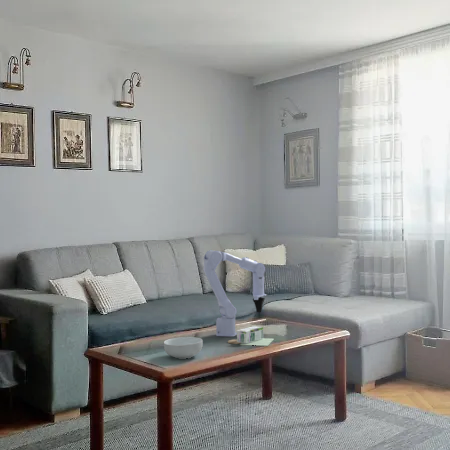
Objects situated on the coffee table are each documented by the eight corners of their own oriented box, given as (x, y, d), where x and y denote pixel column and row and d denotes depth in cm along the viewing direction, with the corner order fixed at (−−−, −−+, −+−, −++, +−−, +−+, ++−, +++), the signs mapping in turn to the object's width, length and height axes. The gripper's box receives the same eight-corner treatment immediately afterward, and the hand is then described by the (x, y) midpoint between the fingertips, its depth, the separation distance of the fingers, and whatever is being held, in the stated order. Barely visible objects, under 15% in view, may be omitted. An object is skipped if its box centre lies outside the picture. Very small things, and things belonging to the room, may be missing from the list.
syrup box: (263, 338, 282) (246, 343, 271) (253, 337, 286) (236, 342, 274) (263, 327, 282) (246, 331, 271) (253, 325, 286) (236, 330, 274)
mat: (240, 345, 270) (240, 344, 270) (247, 338, 286) (247, 337, 286) (267, 346, 267) (267, 345, 267) (273, 339, 282) (273, 338, 282)
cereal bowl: (175, 351, 260) (175, 335, 260) (209, 353, 254) (208, 337, 254) (156, 360, 245) (156, 343, 245) (192, 363, 238) (191, 345, 238)
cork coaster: (225, 343, 275) (225, 342, 275) (230, 340, 282) (230, 339, 282) (242, 344, 272) (242, 343, 272) (246, 340, 280) (246, 339, 280)
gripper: (263, 287, 293) (263, 314, 293) (268, 284, 307) (269, 310, 307) (249, 287, 295) (250, 314, 295) (255, 284, 309) (256, 309, 309)
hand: (259, 312), depth 301 cm, fingers closed
